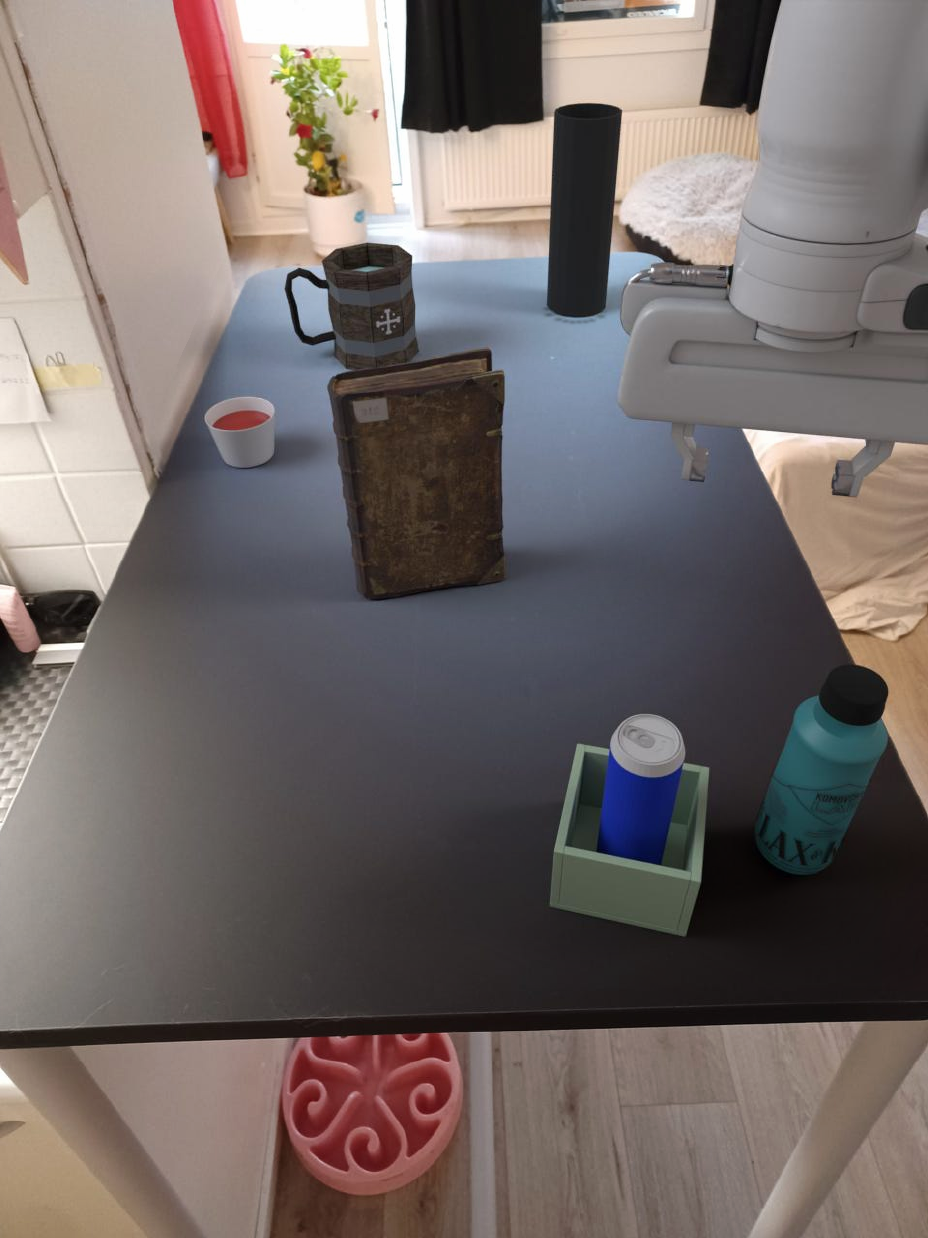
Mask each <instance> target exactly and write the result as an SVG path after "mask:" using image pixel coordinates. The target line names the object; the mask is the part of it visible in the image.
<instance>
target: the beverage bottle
mask: <svg viewBox="0 0 928 1238" xmlns="http://www.w3.org/2000/svg"><path fill="white" fill-rule="evenodd" d="M889 693H890V692H889V686H888V684H887V682H886V680H885V679H884V678H883V677H882V676H881V675H880V674H879V673H878V672H876V671H875V670H873V669H871V668H869V667H866V666H864V665H859V664H853V663H852V664H850V663H849V664H841V665H838V666H836V667H834V668H833V669H832V670H831V671H830V672H829V673H828V674H827V677H826V679H825V681H824V683H823V684H822V686H821V688H820V690H819V693H818V695H815V696H812V697H808V698H807V699H805V700H804V701H802V702H801V703H800V704H799V705H798V706H797V708H796V709H795V711H794V714H793V719H792V723H791V725H790V729H789V731H788V734H787V737H786V740H785V742H784V746H783V749H782V751H781V754H780V757H779V759H778V763H777V765H776V766H775V767H774V771H773V772H771V774H770V778H769V780H768V786H767V788H766V792H765V793H764V795H763V798H762V800H761V803H760V806H759V809H758V812H757V815H756V817H755V822H754V824H755V825H754V826H753V830H752V831H753V832H754V836H753V837H754V840H755V843H756V846H757V848H758V850H759V852H760V853H761V855H762V856H763V857H764V858H765V860H767V861H768V863H770V864H771V865H773V866H774V867H775V868H777V869H779V870H781V871H784V872H786V873H789V874H793V875H798V876H800V875H801V876H807V875H808V876H809V875H813V874H817V873H819V872H821V871H823V870H825V869H827V868H828V867H830V865H832V864H833V863H834V861H835V859H836V857H837V855H838V854H839V852H840V850H841V847H842V846H843V844H844V842H845V840H846V837H847V835H848V833H849V831H848V828H849V826H850V823H851V821H852V820H853V817H854V816H855V814H856V812H857V811H856V810H858V809H857V808H859V805H860V804H861V803H862V802H863V801H864V799H862V798H863V797H864V794H865V792H866V790H867V791H868V789H867V788H869V787H870V786H871V784H870V782H871V781H872V779H871V777H872V775H873V773H874V771H875V769H876V767H877V764H878V763H879V760H880V758H881V756H882V755H883V753H884V752H885V750H886V748H887V746H888V742H889V741H888V740H889V734H888V731H887V727H886V725H885V723H884V722H883V720H882V719H881V718H882V717H883V715H884V712H885V709H886V704H887V701H888V697H889ZM861 800H862V801H861ZM846 832H847V833H846Z"/></svg>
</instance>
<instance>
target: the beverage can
mask: <svg viewBox="0 0 928 1238" xmlns="http://www.w3.org/2000/svg"><path fill="white" fill-rule="evenodd" d="M609 749H610V750H609V758H608V765H607V773H606V781H605V788H604V796H603V804H602V812H601V819H600V827H599V835H598V842H597V850H596V852H597V853H602V854H607V855H612V856H616V857H621V858H626V859H631V860H636V861H640V862H645V863H650V864H655V865H660V866H661V863H662V859H663V854H664V850H665V845H666V841H667V836H668V831H669V827H670V822H671V818H672V813H673V809H674V804H675V800H676V795H677V790H678V786H679V781H680V777H681V772H682V768H683V763H685V757H686V747H685V743H684V739H683V735H682V733H681V731H680V730H679V728H678V727H677V726H676V724H674V723H673V722H672V721H670V720H668V719H667V718H664V717H663V716H660V715H657V714H650V713H639V714H635V715H632V716H629V717H628V718H626V719H625V720H623V721H622V722H620V724H619V726H618V727H617V728H616V729H615V731H614V732H613V734H612V735H611V739H610V742H609Z"/></svg>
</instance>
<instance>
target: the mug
mask: <svg viewBox="0 0 928 1238" xmlns="http://www.w3.org/2000/svg"><path fill="white" fill-rule="evenodd" d="M321 264H322V268H323V271H324V272H323V273H324V276H325V279H321V278H320V277H318V276H317V275H316V274H315V273H313V272H312V271H311V270H308V269H305V268H302V267H297V268H295V269H293V270H292V271H290V272H288V273H287V274H286V280H285V284H284V292H285V296H286V299H287V303H288V306H289V307H288V308H289V312H290V318H291V319H290V320H291V322H292V326H293V331H294V332H295V335H296V336H297V337H298V339H299V340H300V342H301V343H303V344H306V345H309V346H313V347H314V346H317V345H319V344H322V343H326V342H331V341H334V342H333V344H334V345H333V346H334V347H333V350H334V351H333V353H334V357H335V359H337V361H338V362H339V363H340V364H341V365H342V366H343V367H344V368H345V369H346V370H351V371H353V370H358V369H365V368H378V367H384V366H390V365H396V364H402V363H408V362H412V360H413V359H414V357H415V356H416V355H417V354H418V352H419V351H420V349H419V345H418V340H417V331H416V300H415V293H414V288H413V272H412V271H413V255H412V254H411V253H410V252H409V251H407V250H406V249H404V248H403V247H401V246H400V245H399V244H389V243H377V242H363V243H358V244H353V245H348V246H343V247H338V248H335V249H334V250H332V252H330V253H329V254H327V256H325V258H323V259H322V260H321ZM298 277H301V278H303V279H306V280H308V281H309V282H310V283H311V284H312V285H313V286H314V287H317V289H321V290H323V289H324V290H327V308H328V309H327V311H328V314H329V315H328V316H329V319H330V322H331V327H332V330H331V331H327V332H322V333H319V334H317V335H314V336H312V335H311V336H310V335H308V334H305V332H304V330H303V329H302V327H301V322H300V321H301V320H300V316H299V310H298V305H297V302H296V299H295V295H294V293H293V280H295V279H297V278H298Z"/></svg>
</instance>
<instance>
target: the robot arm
mask: <svg viewBox="0 0 928 1238" xmlns="http://www.w3.org/2000/svg"><path fill="white" fill-rule="evenodd" d="M756 131H757V139H758V154H757V155H758V156H757V165H756V168H755V172H754V176H753V177H752V180H751V184H750V185H749V188H748V190H747V192H746V194H745V197H744V199H743V202H742V203H743V204H742V208H741V214H740V215H741V216H740V219H739V226H738V232H737V237H736V245H735V249H734V250H735V251H734V256H733V263H732V264H731V265H727V264H723V265H722V264H694V265H692V264H689V265H688V264H686V265H685V264H676V263H674V262H655V263H652V264H651V265H650V268H648V269H643V270H640V271H638V272H636V273H635V274H633V275H632V276H631V277H629V279H628V280H627V281H626V283H625V285H624V287H623V289H622V292H621V298H620V299H621V301H620V312H619V320H620V324H621V327H622V329H623V330H624V332H625V333H626V334H627V336H629V338H628V342H627V346H626V350H625V353H624V358H623V362H622V368H621V372H620V378H619V383H618V388H617V389H618V391H617V398H616V403H617V405H618V407H619V408H620V410H621V412H623V414H624V415H625V416H626V417H627V418H628V419H630V420H631V419H632V420H638V421H639V420H641V421H651V422H663V423H671V429H670V437H671V439H672V441H673V443H674V445H675V448H676V449H677V451H678V452H679V455H680V456H681V458H682V459H683V466H682V472H681V481H689V482H696V483H697V482H699V483H704V482H705V479H706V471H707V468H708V460H709V449H710V447H706V446H700V445H699V446H698V445H697V444H696V442H695V439H694V437H693V436H694V431H695V425H697V426H709V427H717V428H729V429H742V430H752V431H753V430H754V431H765V432H773V433H774V432H775V433H787V434H799V435H808V436H809V435H810V436H820V437H821V436H822V437H831V438H842V439H854V440H855V439H856V440H864V441H865V446H864V447H862V448H861V449H860V450H859V452H858V453H856V454H855V455H854V457H852V458H851V460H847V459H837V460H836V464H835V467H834V473H833V474H832V478H831V483H830V486H831V488H830V489H831V495H832V496H837V497H838V496H839V497H847V498H856V499H857V498H858V496H859V493H860V491H861V488H862V485H863V481H864V479H865V478H864V477H868V476H869V475H870V474H872V472H873V471H875V470H876V469H877V468H878V467H879V466H881V465H882V464H883V463H884V462H886V461H887V460H888V459H889V458H890V457H891V456H892V453H893V450H894V447H895V444H896V443H900V444H909V445H911V444H912V445H920V446H921V445H922V446H928V236H925V235H923V234H920V233H917V230H918V226H919V223H920V220H921V216H922V213H923V212H924V211H926V210H927V209H928V0H781V1H780V3H779V9H778V11H777V15H776V19H775V23H774V28H773V33H772V37H771V41H770V46H769V50H768V55H767V61H766V65H765V71H764V75H763V80H762V86H761V92H760V99H759V104H758V110H757V117H756ZM648 277H649V279H644V278H648Z"/></svg>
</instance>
